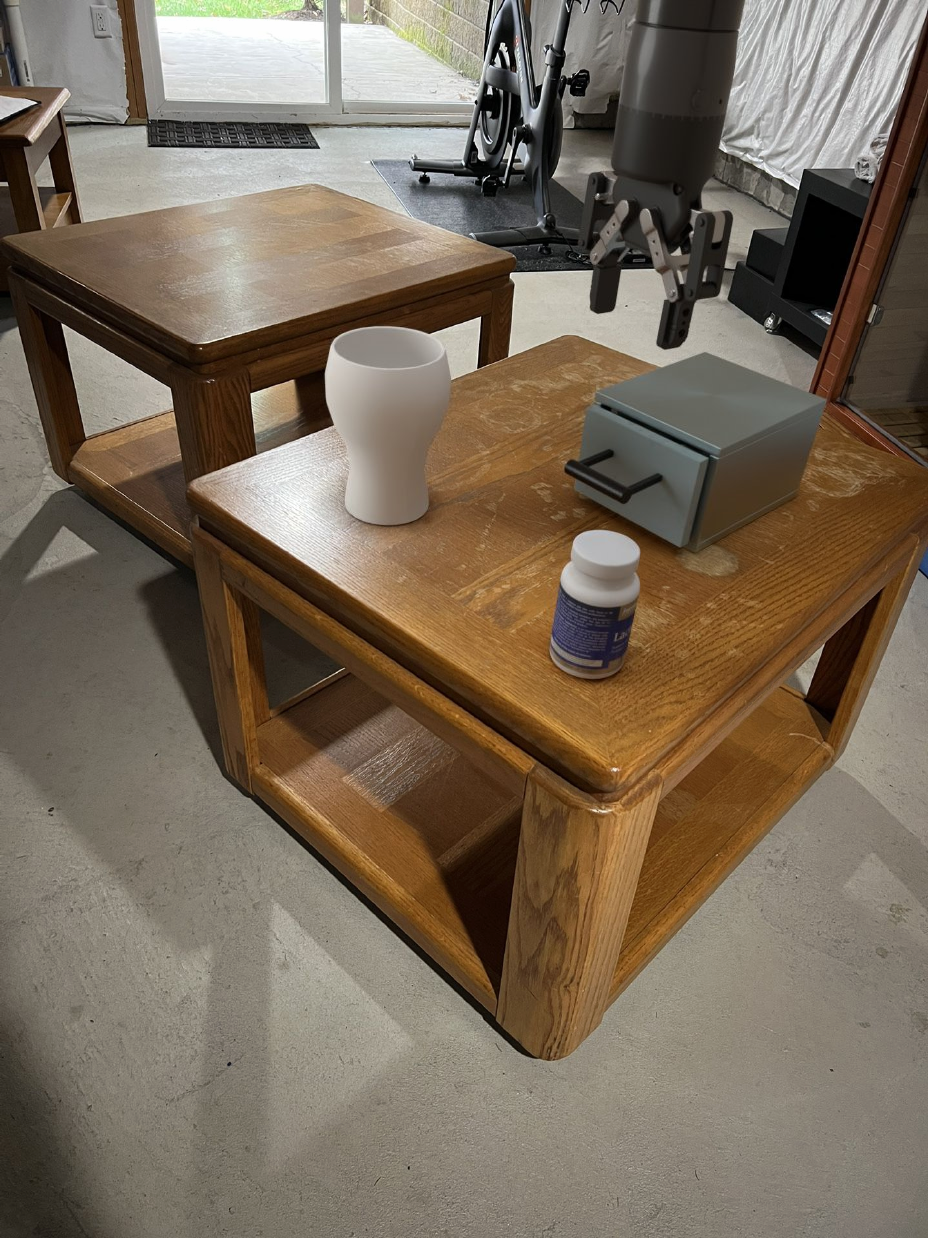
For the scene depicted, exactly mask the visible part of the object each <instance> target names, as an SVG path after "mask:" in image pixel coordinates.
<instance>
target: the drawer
mask: <svg viewBox="0 0 928 1238" xmlns="http://www.w3.org/2000/svg"><path fill="white" fill-rule="evenodd" d="M584 416H585V417H584V421H583V427H582V436H581V442H580V449H579V455H578V460H576V459H574V458H570V459H568V461H567V462H566V463H565V465H564V468H563V471H564V473H565V475H568V476H569V477H571V478H573V479H574V480H575V482H574V491H575V492H577V493H579V494H581V495H583V496H584V497H587V498H588V499H591V500H592V501H594V502H596V503H597V504H600V505H601V506H603V507H605V508H606V509H609V510H611V511H612V512H614V513H616V514H618V515H620V516H621V517H623V518H625V519H627V520H629V521H630V522H631V523H634V524H636V525H638V526H640V527H642V528H644V529H645V530H647V531H648V532H651V533H652V534H655V535H656V536H658V537H659V538H661V539H663V540H665V541H667V542H669V543H670V544H672V545H674V546H676V547H678V548H682V547H683V546H684V545H686V544H688V542H689V538H690V533H691V531H692V528H693V524H694V520H695V516H696V512H697V508H698V504H699V500H700V496H701V492H702V488H703V484H704V479H705V475H706V471H707V467H708V463H709V459H710V455H711V454H709V453H707V452H705V451H702V450H700V449H698V448H696V447H694V446H692V445H690V444H687V443H685V442H683V441H681V440H679V439H677V438H675V437H672V436H670V435H668V434H666V433H664V432H662V431H660V430H657V429H655V428H653V427H651V426H649V425H647V424H645V423H642V422H640V421H638V420H636V419H634V418H632V417H629V416H627V415H625V414H623V413H621V412H619V411H617V410H614V409H612V408H611V412H609V411H607V410H605V409H603V408H601V407H598V406H596V405H594V404H593V405H591V406H587V407H586V408H585V415H584Z"/></svg>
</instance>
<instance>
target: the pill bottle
mask: <svg viewBox="0 0 928 1238" xmlns="http://www.w3.org/2000/svg"><path fill="white" fill-rule="evenodd" d="M640 558H641V548H640V547H639V545H638V544H637V543H636V541H635V540H633V539H631V538H630V537H629V536H627V535H625V534H622V533H620V532H616V531H612V530H608V529H607V530H606V529H593V530H586V531H583V532H581V533H580V534H578V535H576V536H575V538H574V540H573V542H572V547H571V551H570V561H569V562H567V564H566V565H565V566H564V567H563V569H562V571H561V573H560V580H559V585H558V591H557V597H556V604H555V610H554V614H553V615H554V616H553V622H552V628H551V634H550V640H549V654H550V657H551V659H552V661H553V663H554V664H555V665H556V667H558V668H559V669H560V670H562V671H564V672H565V673H567V674H568V675H571V676H574V677H577V678H581V679H587V680H597V679H598V680H599V679H605V678H608V677H611V676H612V675H615V673H616V674H617V672H618V671H620V670H621V669H622V667H623V665H624V664H625V660H626V657H627V656H626V655H627V651H628V647H629V642H630V638H631V634H632V629H633V623H634V619H635V615H636V610H637V606H638V601H639V598H640V591H641V582H640V577H639V575H638V574H637V570H638V568H639V564H640Z"/></svg>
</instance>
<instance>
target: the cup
mask: <svg viewBox="0 0 928 1238" xmlns="http://www.w3.org/2000/svg"><path fill="white" fill-rule="evenodd" d="M326 361H327V363H326V365H325V366H326V367H325V370H324V371H325V372H324V384H325V385H324V387H325V400H326V405H327V408H328V411H329V414H330V417H331V419H332V423H333V425H334V427H335V429H336V431H337V433H338V434H339V436H340V438H341V440H342V441H343V443H344V445H345V446H346V452H347V459H348V465H349V469H348V470H349V471H348V476H347V482H346V487H345V496H344V507H345V509H346V511H347V512H348V514H350V515H351V516H353V517H354V518H356V519H357V520H360V521H363V522H364V523H369V524H372V525H378V526H379V525H380V526H397V525H398V526H399V525H403V524H408V523H410V522H411V523H412V522H413V521H417V520H418V519H419V518H421V517H422V516H425V514H426V513H427V512H428V509H429V505H430V500H429V490H428V484H427V478H426V477H427V476H426V470H425V469H426V464H427V459H428V455H429V454H428V453H429V449H430V447H431V445H432V443H433V441H434V440H435V439H436V437H437V435H438V434H439V433H440V431H441V428H442V426H443V422H444V420H445V417H446V415H447V412H448V409H449V405H450V400H451V389H452V388H451V387H452V376H451V370H450V365H449V359H448V353H447V348H446V347H445V345H444V343H443V341H441V340H440V339H439V338H437V337H435V336H433V335H431V334H429V333H428V332H424V331H421V330H418V329H413V328H407V327H402V326H401V327H400V326H387V325H384V326H383V325H382V326H381V325H380V326H379V325H377V326H375V325H374V326H367V327H359V328H356V329H351V330H348V331H346V332H344V333H340V334H339V335H338V336H337V337H335V338H334V339H333V340H332V342H331V344H330V348H329V353H328V356H327V360H326Z"/></svg>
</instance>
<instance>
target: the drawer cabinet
mask: <svg viewBox="0 0 928 1238" xmlns="http://www.w3.org/2000/svg"><path fill="white" fill-rule="evenodd" d="M593 400H594V401H593V405H596V406H598V407H601V408H603V409H605V410H607V411H609V412H611V408H612V409H614V410H617V411H619V412H621V413H623V414H625V415H627V416H629V417H632V418H634V419H636V420H638V421H640V422H642V423H645V424H647V425H649V426H651V427H653V428H655V429H657V430H660V431H662V432H664V433H666V434H668V435H670V436H672V437H675V438H677V439H679V440H681V441H683V442H685V443H687V444H690V445H692V446H694V447H696V448H698V449H700V450H702V451H705V452H707V453H709V454H711V455H710V459H709V463H708V467H707V471H706V475H705V479H704V484H703V488H702V492H701V496H700V500H699V504H698V508H697V512H696V516H695V520H694V524H693V528H692V531H691V533H690V538H689V542H688V544H686V545H684V546H682V547H683V548H685V549H686V550H688V551H690V552H692V553H693V554H696V553H698V552H700V551H702V550H703V549H705V548H707V547H709V546H710V545H713V544H714V543H715V542H718V541H720V540H721V539H723V538H725V537H727V536H729V535H730V534H732V533H734V532H736V531H737V530H739V529H741V528H743V527H744V526H746V525H749V524H750V523H752V522H753V521H754V522H755V520H757V519H759V518H761V517H762V516H765V515H766V514H769V512H772V511H773V510H775V509H777V508H778V507H780V506H783V505H784V504H786V503H787V502H789V501H791V500H793V499H795V498H796V497H798V493H799V489H800V486H801V483H802V480H803V477H804V473H805V471H806V467H807V464H808V461H809V459H810V455H811V452H812V449H813V445H814V443H815V439H816V437H817V432H818V430H819V426H820V424H821V420H822V417H823V414H824V411H825V408H826V404H827V401H828V399H827V398H825V397H821V396H819V395H817V394H814V393H811V392H809V391H806V390H803V389H801V388H798V387H797V386H794V385H792V384H789V383H785V382H784V381H781V380H779V379H776V378H773V377H771V376H768V375H765V374H763V373H761V372H758V371H755V370H753V369H750V368H747V367H746V366H743V365H740V364H738V363H735V362H732V361H730V360H727V359H724V358H722V357H720V356H717V355H715V354H712V353H709V352H707V351H704V352H700V353H698V354H695V355H692V356H689V357H686V358H683V359H681V360H678V361H675V362H673V363H671V364H667V365H664V366H662V367H658V368H655V369H653V370H651V371H648V372H645V373H643V374H639V375H637V376H634V377H631V378H629V379H628V378H627V379H625V380H622V381H620V382H617V383H614V384H612V385H609V386H606V387H604V388H601V389H598V390H595V393H594V398H593Z"/></svg>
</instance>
